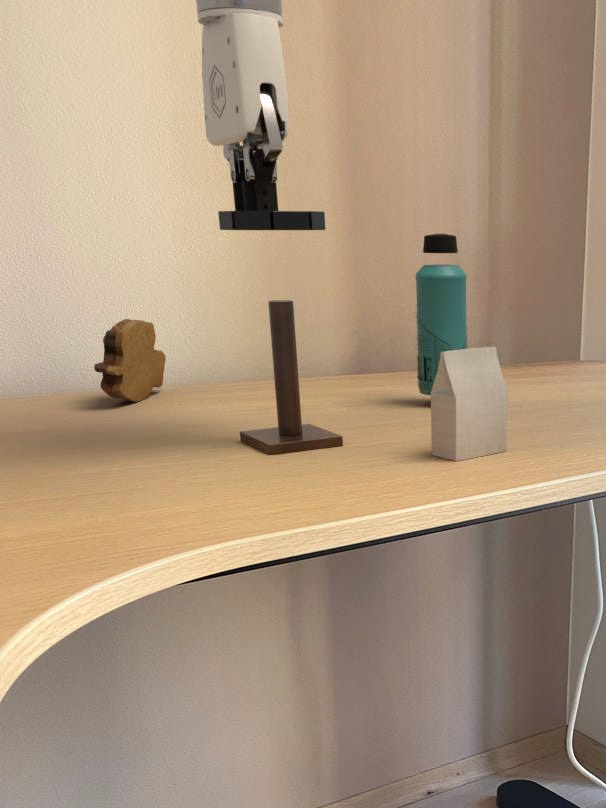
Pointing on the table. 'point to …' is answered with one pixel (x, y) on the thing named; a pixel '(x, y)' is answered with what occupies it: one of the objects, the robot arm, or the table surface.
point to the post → (287, 394)
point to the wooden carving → (131, 361)
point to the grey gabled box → (468, 405)
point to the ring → (271, 220)
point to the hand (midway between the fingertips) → (257, 226)
